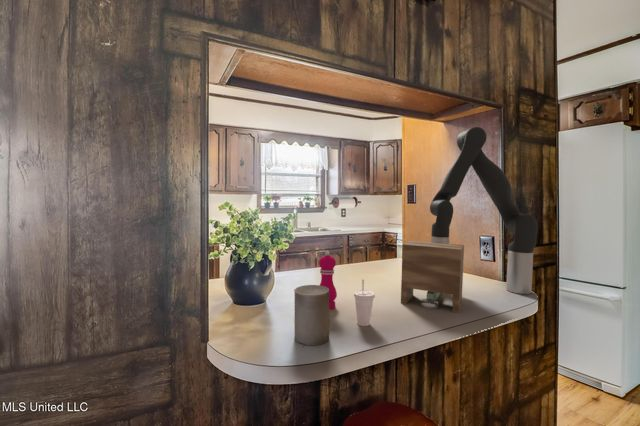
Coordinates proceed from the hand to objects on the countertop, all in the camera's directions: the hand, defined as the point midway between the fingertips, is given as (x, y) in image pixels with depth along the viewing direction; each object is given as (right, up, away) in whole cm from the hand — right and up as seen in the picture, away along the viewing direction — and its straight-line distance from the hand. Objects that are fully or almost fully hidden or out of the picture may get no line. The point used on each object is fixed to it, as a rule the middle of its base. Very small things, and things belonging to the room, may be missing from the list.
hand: (438, 287), depth 139 cm
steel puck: (-10, -2, -20) cm, 23 cm away
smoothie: (-37, -3, -37) cm, 52 cm away
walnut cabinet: (-8, -2, -16) cm, 18 cm away
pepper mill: (-48, -2, -22) cm, 53 cm away
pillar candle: (-53, -3, -48) cm, 71 cm away
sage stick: (-4, -2, -7) cm, 8 cm away
